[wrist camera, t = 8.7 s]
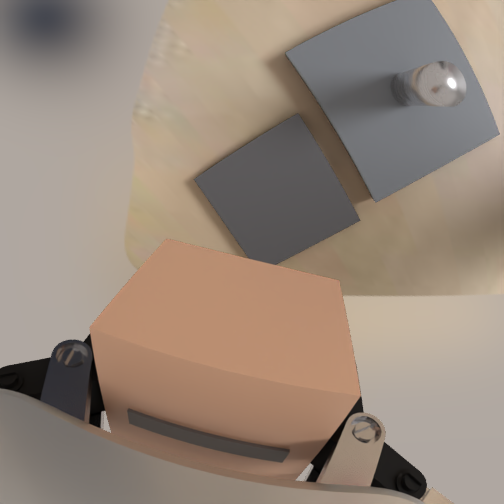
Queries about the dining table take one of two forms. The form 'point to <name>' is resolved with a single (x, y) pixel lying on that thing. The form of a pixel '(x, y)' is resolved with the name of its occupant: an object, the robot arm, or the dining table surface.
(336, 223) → the pad
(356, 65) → the stand
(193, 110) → the dining table surface
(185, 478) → the robot arm
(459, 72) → the post
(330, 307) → the tan slotted box
